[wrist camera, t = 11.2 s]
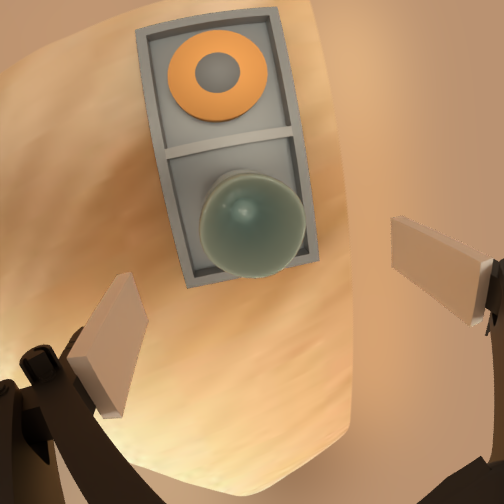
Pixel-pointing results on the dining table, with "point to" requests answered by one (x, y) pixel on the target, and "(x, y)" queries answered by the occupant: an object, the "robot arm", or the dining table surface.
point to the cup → (251, 224)
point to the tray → (223, 133)
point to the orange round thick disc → (217, 75)
